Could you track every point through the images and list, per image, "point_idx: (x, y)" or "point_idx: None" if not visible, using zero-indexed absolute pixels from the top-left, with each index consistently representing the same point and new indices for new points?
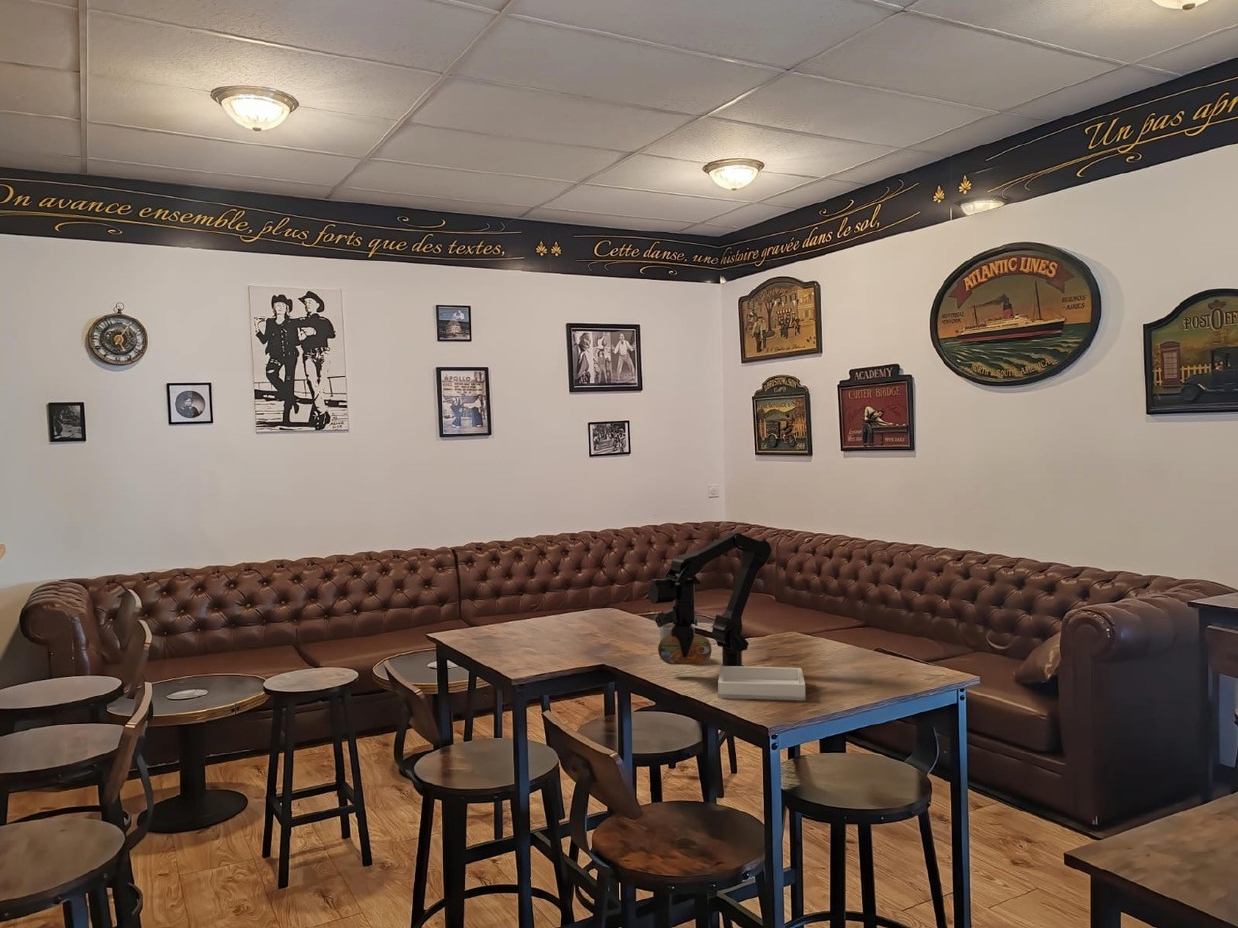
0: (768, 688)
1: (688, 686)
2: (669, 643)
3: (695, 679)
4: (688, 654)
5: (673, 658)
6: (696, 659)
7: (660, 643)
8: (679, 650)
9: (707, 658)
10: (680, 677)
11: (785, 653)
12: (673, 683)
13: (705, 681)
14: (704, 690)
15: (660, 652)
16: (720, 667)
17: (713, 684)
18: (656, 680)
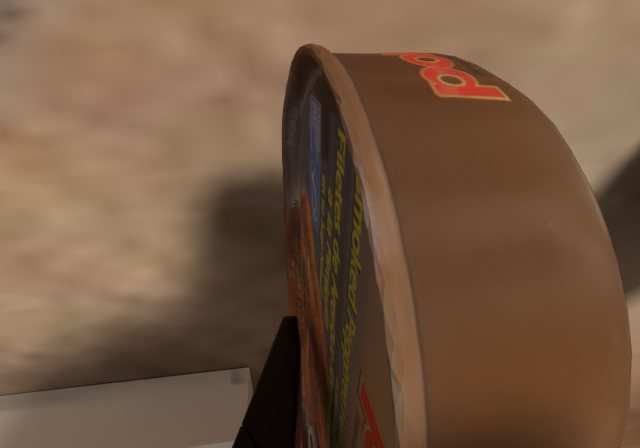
0: None
1: (57, 270)
2: (354, 311)
3: (240, 280)
4: (311, 361)
5: (301, 223)
6: (305, 367)
7: (364, 131)
8: (323, 334)
9: (305, 419)
10: (270, 200)
11: None
12: (87, 177)
13: (210, 323)
14: (16, 345)
15: (318, 85)
16: (209, 444)
17: (162, 357)
18: (123, 24)
